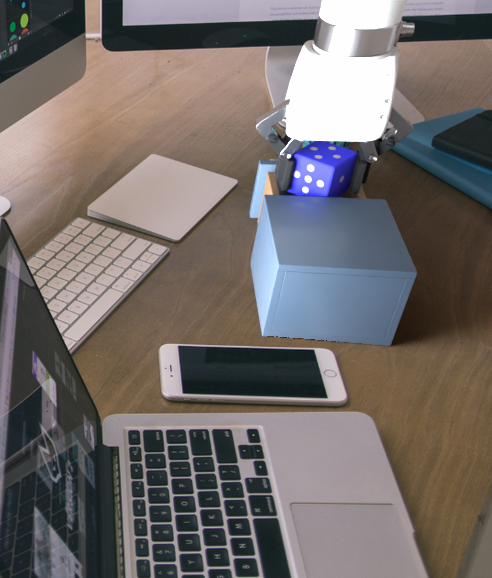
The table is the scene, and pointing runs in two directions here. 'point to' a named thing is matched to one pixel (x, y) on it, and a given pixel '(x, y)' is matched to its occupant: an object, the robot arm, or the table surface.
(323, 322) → the cabinet
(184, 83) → the table surface
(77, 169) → the table surface
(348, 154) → the die
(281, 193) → the drawer
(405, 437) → the table surface
